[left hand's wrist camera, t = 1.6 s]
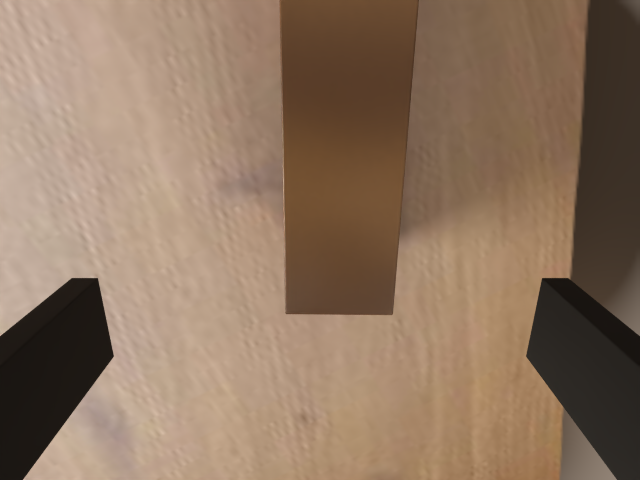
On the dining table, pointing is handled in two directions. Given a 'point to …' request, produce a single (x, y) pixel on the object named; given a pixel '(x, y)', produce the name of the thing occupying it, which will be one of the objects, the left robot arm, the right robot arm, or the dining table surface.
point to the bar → (344, 150)
